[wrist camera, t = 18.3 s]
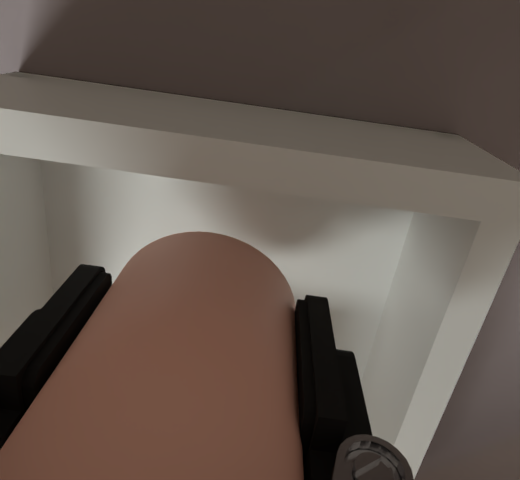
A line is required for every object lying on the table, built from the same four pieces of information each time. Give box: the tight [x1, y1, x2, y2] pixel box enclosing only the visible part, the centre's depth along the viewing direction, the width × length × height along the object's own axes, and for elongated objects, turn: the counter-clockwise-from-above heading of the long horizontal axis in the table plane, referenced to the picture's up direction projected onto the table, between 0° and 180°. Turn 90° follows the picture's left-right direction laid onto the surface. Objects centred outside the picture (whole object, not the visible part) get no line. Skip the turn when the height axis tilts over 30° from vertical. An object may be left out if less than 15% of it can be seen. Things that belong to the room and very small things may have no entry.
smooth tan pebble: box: [0, 231, 304, 480], centre depth 9 cm, size 5×5×7 cm
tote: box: [0, 72, 520, 479], centre depth 15 cm, size 18×14×5 cm
